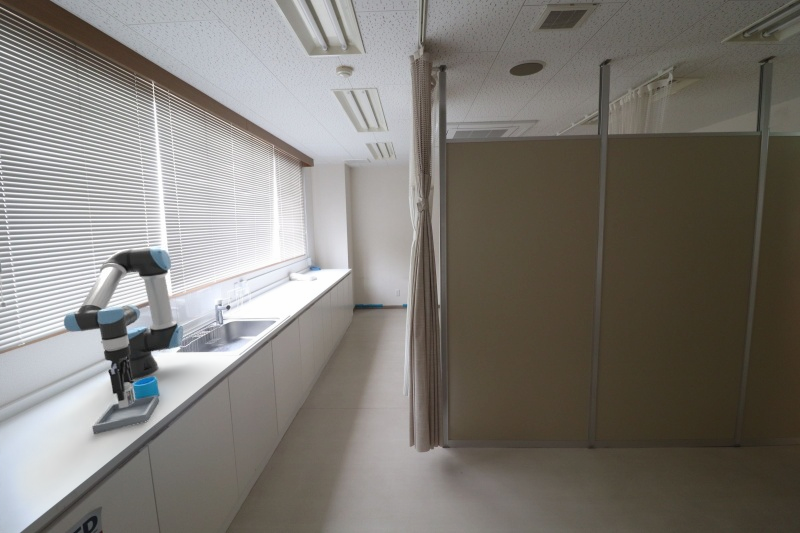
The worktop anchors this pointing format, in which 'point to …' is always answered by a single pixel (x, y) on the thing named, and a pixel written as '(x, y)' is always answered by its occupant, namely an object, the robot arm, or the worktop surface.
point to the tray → (126, 414)
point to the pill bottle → (129, 393)
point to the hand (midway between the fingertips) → (126, 403)
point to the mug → (146, 387)
